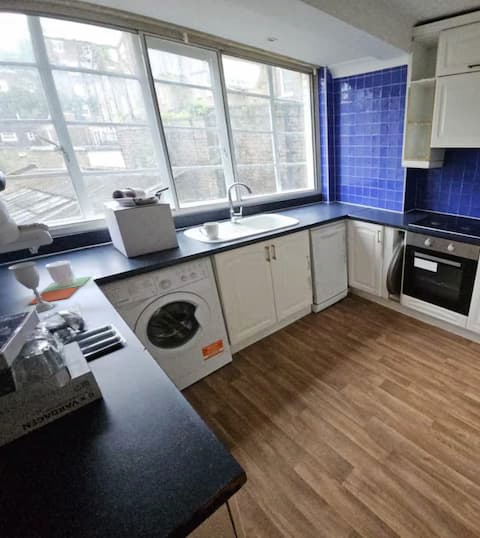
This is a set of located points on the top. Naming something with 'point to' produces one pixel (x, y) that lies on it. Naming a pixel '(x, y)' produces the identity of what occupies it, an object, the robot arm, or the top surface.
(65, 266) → the white cup
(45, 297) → the terracotta mat
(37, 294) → the chalice
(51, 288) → the sage mat
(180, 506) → the top surface
